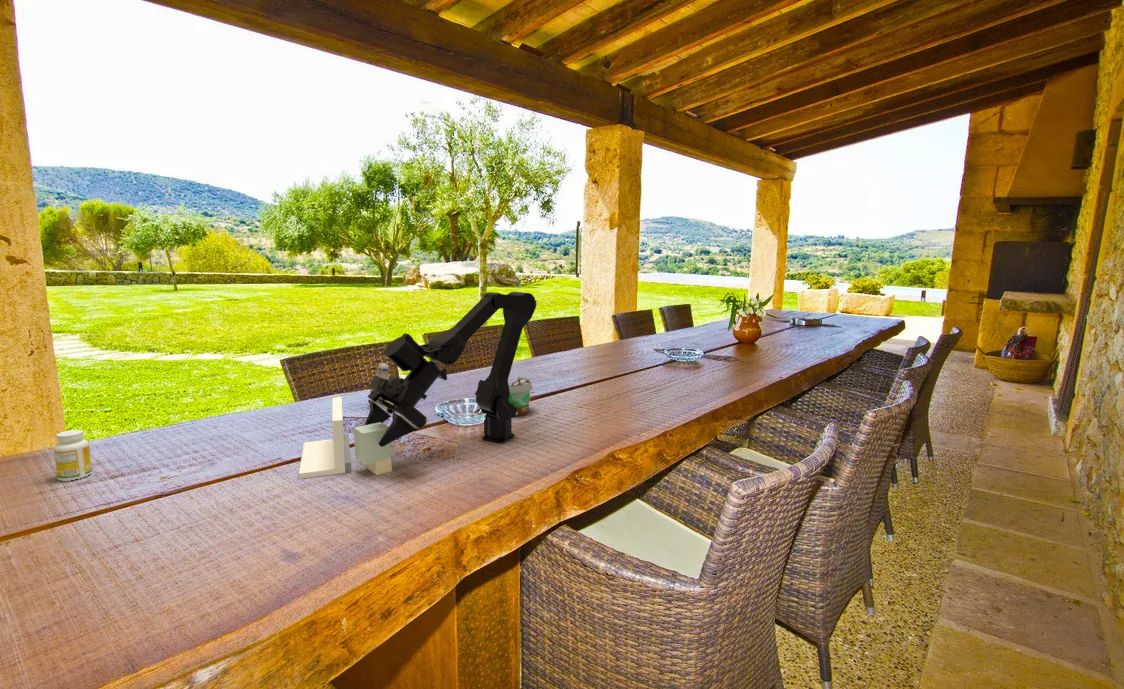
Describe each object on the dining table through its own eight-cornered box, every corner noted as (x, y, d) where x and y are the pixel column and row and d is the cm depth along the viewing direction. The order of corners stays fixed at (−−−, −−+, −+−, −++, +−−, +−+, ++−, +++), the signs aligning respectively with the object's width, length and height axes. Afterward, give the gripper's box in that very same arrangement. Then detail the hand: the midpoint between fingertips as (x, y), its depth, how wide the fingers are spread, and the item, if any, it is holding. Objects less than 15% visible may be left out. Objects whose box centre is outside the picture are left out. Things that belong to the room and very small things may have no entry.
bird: (381, 415, 155) (379, 365, 152) (364, 405, 165) (362, 358, 162) (397, 412, 158) (395, 363, 155) (379, 402, 168) (378, 356, 165)
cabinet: (383, 464, 119) (381, 421, 117) (392, 470, 115) (391, 427, 114) (355, 471, 115) (353, 427, 113) (364, 478, 111) (362, 433, 109)
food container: (526, 420, 153) (526, 387, 151) (506, 418, 154) (506, 385, 152) (536, 408, 165) (536, 377, 163) (517, 407, 166) (518, 376, 164)
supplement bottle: (67, 483, 106) (60, 438, 104) (52, 479, 108) (45, 434, 106) (98, 474, 111) (92, 430, 109) (83, 469, 112) (77, 427, 111)
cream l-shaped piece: (348, 442, 132) (346, 396, 130) (351, 472, 114) (348, 419, 112) (304, 447, 128) (301, 399, 126) (299, 478, 110) (295, 424, 108)
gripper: (374, 355, 121) (327, 409, 115) (412, 369, 108) (361, 431, 102) (407, 383, 128) (364, 436, 122) (446, 399, 114) (400, 459, 108)
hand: (371, 439), depth 113 cm, fingers open, 9 cm apart
